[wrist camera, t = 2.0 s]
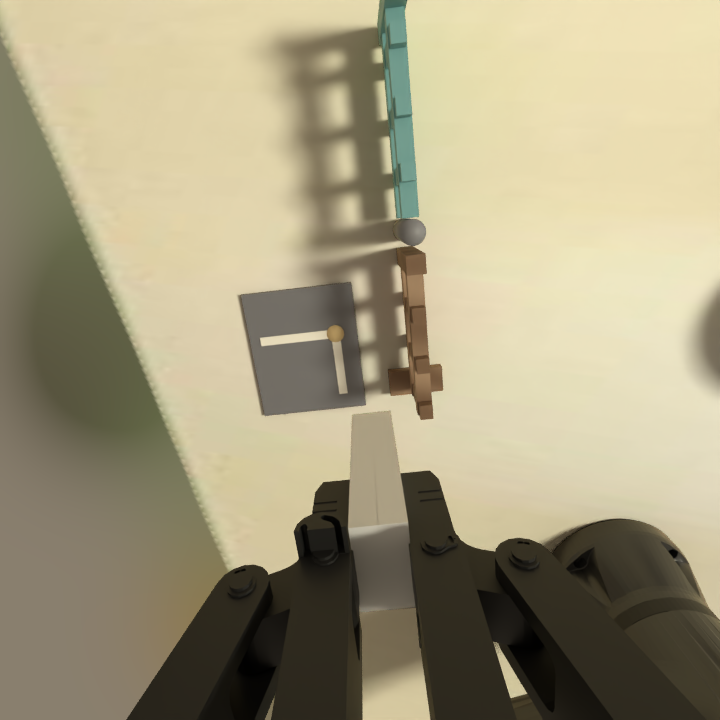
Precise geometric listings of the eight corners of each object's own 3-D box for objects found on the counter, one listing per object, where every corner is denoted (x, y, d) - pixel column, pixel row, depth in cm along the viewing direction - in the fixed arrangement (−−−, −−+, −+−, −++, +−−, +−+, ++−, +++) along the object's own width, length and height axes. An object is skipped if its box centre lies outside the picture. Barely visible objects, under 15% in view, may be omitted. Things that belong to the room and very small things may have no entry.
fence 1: (414, 239, 38) (427, 244, 31) (393, 241, 38) (401, 247, 31) (398, 21, 33) (409, -34, 26) (374, 24, 33) (379, -29, 26)
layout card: (365, 403, 43) (365, 405, 43) (265, 414, 44) (264, 416, 43) (351, 281, 40) (351, 282, 39) (241, 294, 40) (240, 295, 40)
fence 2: (441, 387, 43) (459, 425, 35) (390, 392, 43) (397, 431, 35) (432, 243, 39) (450, 250, 31) (375, 250, 39) (380, 258, 31)
